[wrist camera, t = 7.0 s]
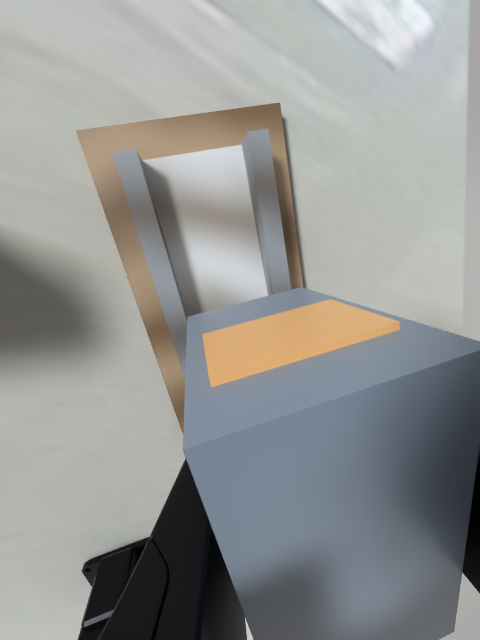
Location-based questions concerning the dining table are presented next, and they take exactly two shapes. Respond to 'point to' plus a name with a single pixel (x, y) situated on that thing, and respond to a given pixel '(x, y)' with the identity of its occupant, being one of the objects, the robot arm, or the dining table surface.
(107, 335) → the dining table surface
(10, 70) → the dining table surface
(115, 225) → the rail mount
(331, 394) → the block
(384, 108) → the dining table surface
